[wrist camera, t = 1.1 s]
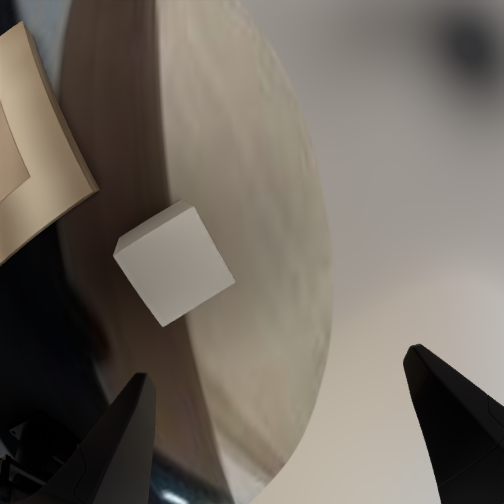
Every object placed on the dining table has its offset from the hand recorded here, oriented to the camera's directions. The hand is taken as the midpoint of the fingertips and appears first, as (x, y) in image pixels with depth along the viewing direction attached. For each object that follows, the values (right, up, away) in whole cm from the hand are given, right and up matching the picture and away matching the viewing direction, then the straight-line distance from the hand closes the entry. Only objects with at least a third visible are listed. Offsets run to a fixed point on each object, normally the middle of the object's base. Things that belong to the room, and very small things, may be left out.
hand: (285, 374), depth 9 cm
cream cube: (-7, +4, +11) cm, 14 cm away
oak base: (-20, +10, +4) cm, 23 cm away
